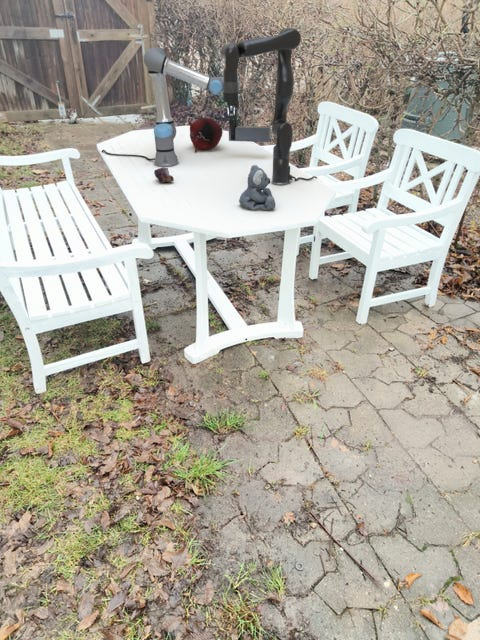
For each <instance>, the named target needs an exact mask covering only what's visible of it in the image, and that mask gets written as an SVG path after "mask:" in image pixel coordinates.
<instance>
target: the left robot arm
mask: <svg viewBox="0 0 480 640" xmlns="http://www.w3.org/2000/svg"><path fill="white" fill-rule="evenodd" d="M143 62H144V65H145V67H146V68H147V73H148V75H149V76H150V78H151V83H152V89H153V96H154V97H153V98H154V103H155V108H156V115H157V119H156V120H155V124H156V125H154V127H153V135H154V145H155V155H154V157H153V158H148V157H147V156H145V155H140V154H125V153H124V154H123V153H111V152H107V151H106V150H105V149H102V150H101V152H102V153H103V152H104V153H105V154H106V155H110V156H117V157H118V156H122V157H138V158H139V157H140V158H145V159H146V160H148V161H154V165H155V166H157V167H160V168H162V167H164V168H169V167H174V166H177V165H178V164H179V159H178V156H177V153H176V151H175V143H174V139H175V138H176V135H177V128H176V126H175V119H174V118H173V117H172V115H171V106H170V100H169V99H170V98H169V93H168V85H167V77H166V75H168V76H171V77H173V78H176V79H178V80H181V81H183V82H185V83H186V82H187V83H189V84H191V85H194V86H196V87H198V88H200V89H203V90H206V91H207V92H210V93H211V94H213V95H219V94H220V93H221V92H223V76H210V75H207V74H205V73H203V72H200V71H197V70H196V69H193V68H191V67H188V66H186V65H183V64H181V63H178V62H176V61H173V60H171V59H170V58H169V56H167V55H166V53H165V51H164V50H163V49H162V48H160V47H157V46H152V47H150V48H148V49H147V50H145V52H144V54H143ZM239 77H240V76H238V102H234V103H233V105H235V115H234V126H238V108H240V101H239V100H240V94H239V93H240V89H239V88H240V80H239ZM226 104H227V105H228V102H226ZM227 105H226V106H227ZM229 130H231V140H235V128H234V127H233V128H230V129H229V128H228V131H229Z"/></svg>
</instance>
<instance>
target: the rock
mask: <svg viewBox="0 0 480 640" xmlns="http://www.w3.org/2000/svg"><path fill="white" fill-rule="evenodd" d="M153 173H154V177H155V178H156V179H157V181H158V182H160V183H162V184H163V183H172V182H174V181H175V179H174V176H173V175H171V174H170V172H169V167H160V168H156V169H155V170H154V172H153Z"/></svg>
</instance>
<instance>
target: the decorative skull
mask: <svg viewBox="0 0 480 640" xmlns="http://www.w3.org/2000/svg"><path fill="white" fill-rule="evenodd" d="M187 122H188V124H189V138H190V141H191V143H192V146H193V147H194V153H197V150H204V151H207V150H212V149H214V148H215V147H217V146H218V145H219V143H220V141H221V140H222V137H223V133H224V132H223V128H222V126H221V125H220V124H219V123H218V122H217V121H216V120H214V118H210V117H202V118H201V117H200V118H199V119H197V120H195V121H194V122H191V121H190V119H188V120H187Z"/></svg>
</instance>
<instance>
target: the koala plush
mask: <svg viewBox="0 0 480 640" xmlns="http://www.w3.org/2000/svg"><path fill="white" fill-rule="evenodd" d="M270 183H271V178H269V176H268V175H267V173H266V172H265V170H264V169H263V168H261V167H259V165H257V164H253V165H250V170H249V173H248V176H247V188H246V189H245V190H244V191H243V192H242V193H241V194H240V197H239V199H238V203H239V204H240V206H241V207H242V208H246V209H247V210H252V211H255V210H261V211H272V210H274V209H275V208H276V200H275V198H274V196H273V194H272V191H271V188H270V187H268V186H269V185H270Z"/></svg>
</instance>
